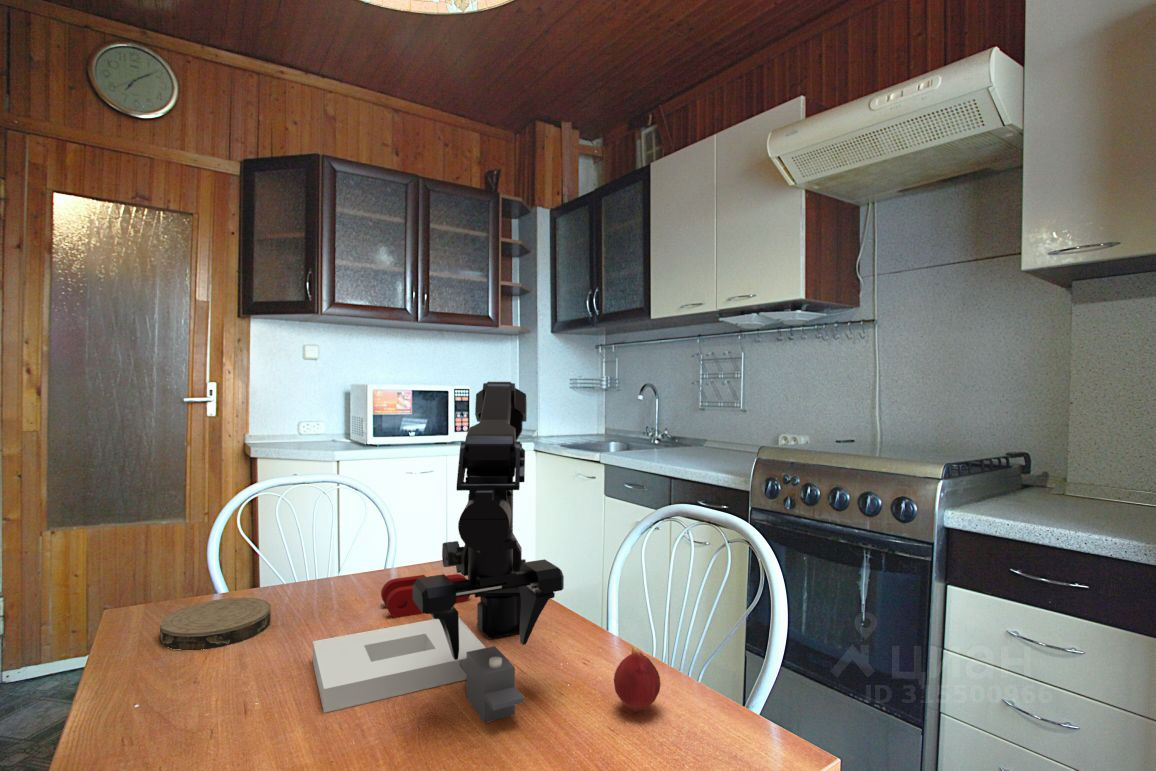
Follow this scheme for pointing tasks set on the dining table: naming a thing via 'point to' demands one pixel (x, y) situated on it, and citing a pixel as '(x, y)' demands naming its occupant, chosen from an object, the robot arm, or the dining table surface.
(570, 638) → the dining table surface
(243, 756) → the dining table surface
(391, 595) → the mechanical linkage
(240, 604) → the wood slice
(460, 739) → the dining table surface
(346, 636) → the frame
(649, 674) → the onion
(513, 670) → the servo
